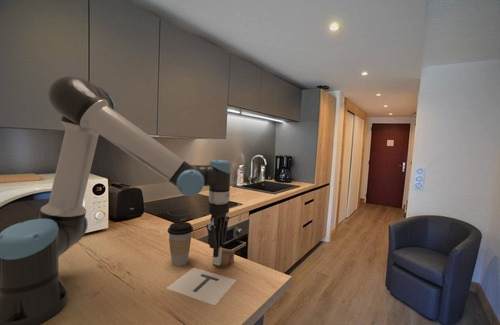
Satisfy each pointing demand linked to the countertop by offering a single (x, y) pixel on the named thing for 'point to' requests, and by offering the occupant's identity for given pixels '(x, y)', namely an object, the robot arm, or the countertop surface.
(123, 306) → the countertop surface
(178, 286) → the letter sheet
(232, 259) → the walnut block
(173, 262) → the coffee cup
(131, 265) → the countertop surface
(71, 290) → the countertop surface
